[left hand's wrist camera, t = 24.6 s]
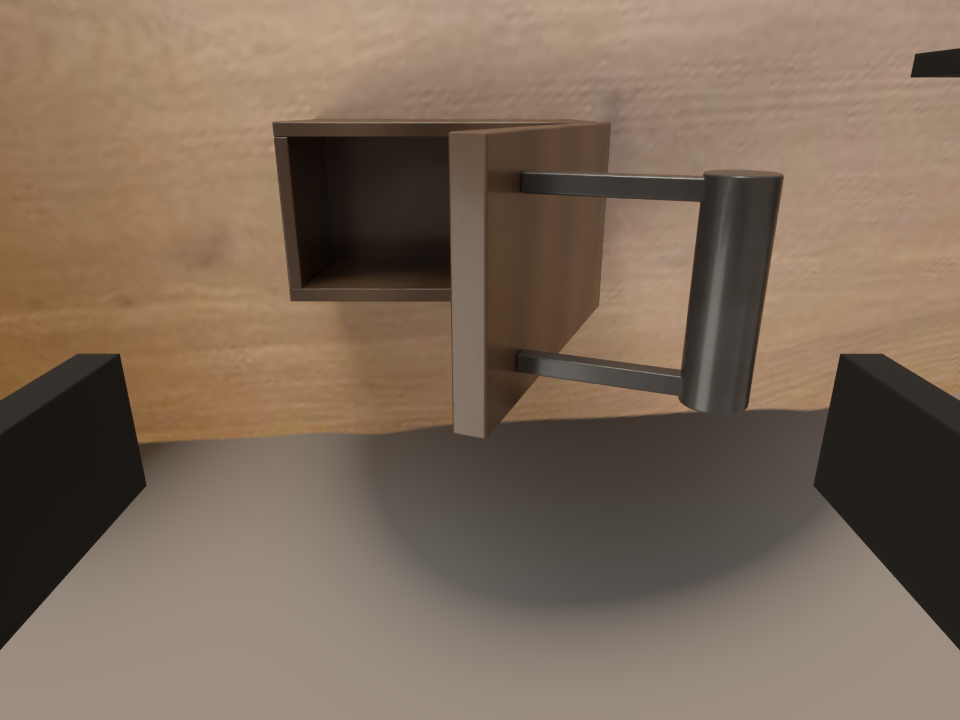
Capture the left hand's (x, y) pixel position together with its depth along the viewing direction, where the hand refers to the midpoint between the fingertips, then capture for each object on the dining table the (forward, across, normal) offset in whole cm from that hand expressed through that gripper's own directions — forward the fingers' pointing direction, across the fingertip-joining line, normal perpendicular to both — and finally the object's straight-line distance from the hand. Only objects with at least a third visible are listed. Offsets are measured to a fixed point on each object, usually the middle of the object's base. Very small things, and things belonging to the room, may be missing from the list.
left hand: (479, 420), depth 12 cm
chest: (+34, -2, 0) cm, 34 cm away
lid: (+17, +2, 0) cm, 17 cm away
